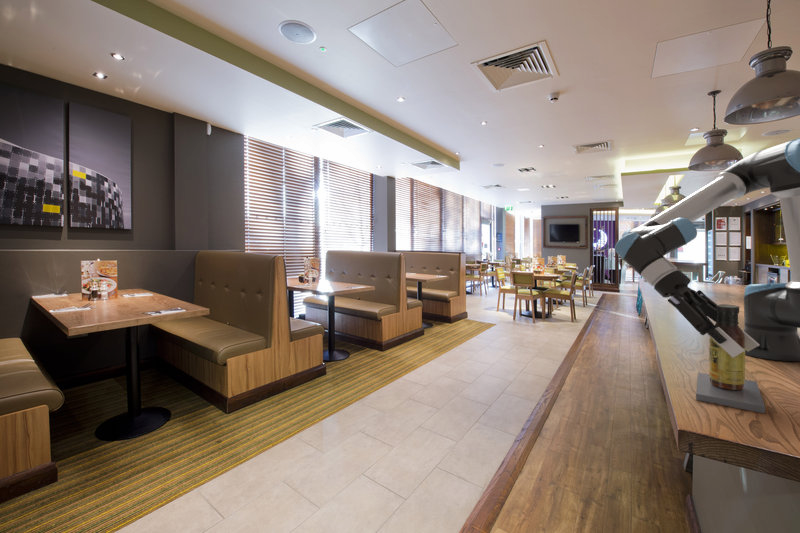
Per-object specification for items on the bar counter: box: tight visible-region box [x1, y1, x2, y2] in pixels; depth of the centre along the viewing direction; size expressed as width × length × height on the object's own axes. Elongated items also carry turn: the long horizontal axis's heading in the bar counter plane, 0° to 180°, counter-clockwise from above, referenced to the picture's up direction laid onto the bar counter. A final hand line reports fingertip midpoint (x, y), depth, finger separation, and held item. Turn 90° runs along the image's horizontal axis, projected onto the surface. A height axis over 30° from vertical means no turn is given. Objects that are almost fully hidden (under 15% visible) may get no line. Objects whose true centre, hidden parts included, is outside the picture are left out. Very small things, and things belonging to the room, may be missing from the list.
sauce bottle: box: [708, 304, 746, 390], centre depth 83 cm, size 7×6×20 cm
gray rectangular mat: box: [695, 371, 766, 414], centre depth 83 cm, size 18×11×2 cm, turn 138°
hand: (746, 351), depth 80 cm, fingers open, 8 cm apart
